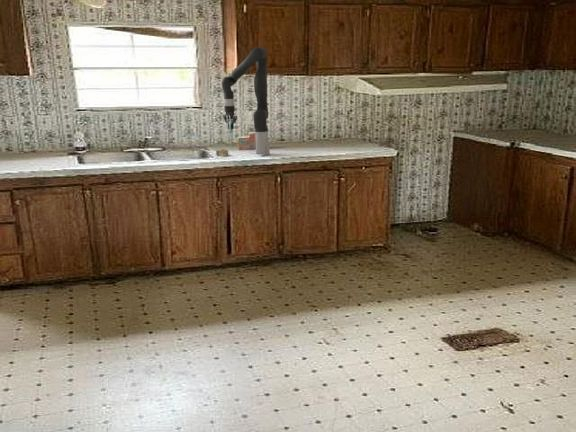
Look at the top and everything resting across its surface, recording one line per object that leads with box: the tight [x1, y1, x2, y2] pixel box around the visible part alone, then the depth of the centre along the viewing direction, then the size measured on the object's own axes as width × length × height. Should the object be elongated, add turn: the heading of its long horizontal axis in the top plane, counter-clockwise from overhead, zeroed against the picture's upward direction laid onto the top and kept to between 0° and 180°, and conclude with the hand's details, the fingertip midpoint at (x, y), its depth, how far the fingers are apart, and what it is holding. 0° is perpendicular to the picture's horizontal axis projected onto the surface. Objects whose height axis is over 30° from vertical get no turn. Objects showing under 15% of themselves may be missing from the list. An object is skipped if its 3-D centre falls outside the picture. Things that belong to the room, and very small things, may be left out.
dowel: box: [229, 121, 234, 134], centre depth 408 cm, size 2×2×9 cm
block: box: [217, 148, 229, 157], centre depth 399 cm, size 5×5×4 cm
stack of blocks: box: [237, 131, 256, 150], centre depth 432 cm, size 21×6×12 cm, turn 97°
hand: (230, 128), depth 408 cm, fingers closed on dowel, 2 cm apart
